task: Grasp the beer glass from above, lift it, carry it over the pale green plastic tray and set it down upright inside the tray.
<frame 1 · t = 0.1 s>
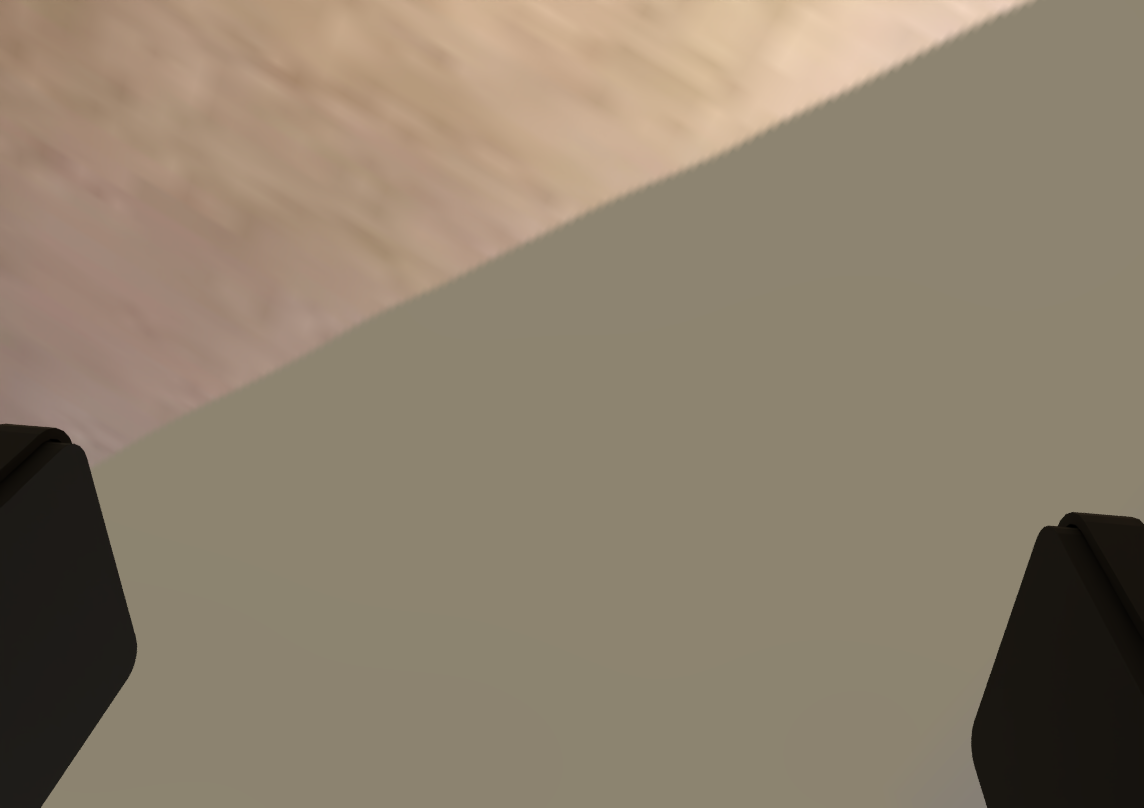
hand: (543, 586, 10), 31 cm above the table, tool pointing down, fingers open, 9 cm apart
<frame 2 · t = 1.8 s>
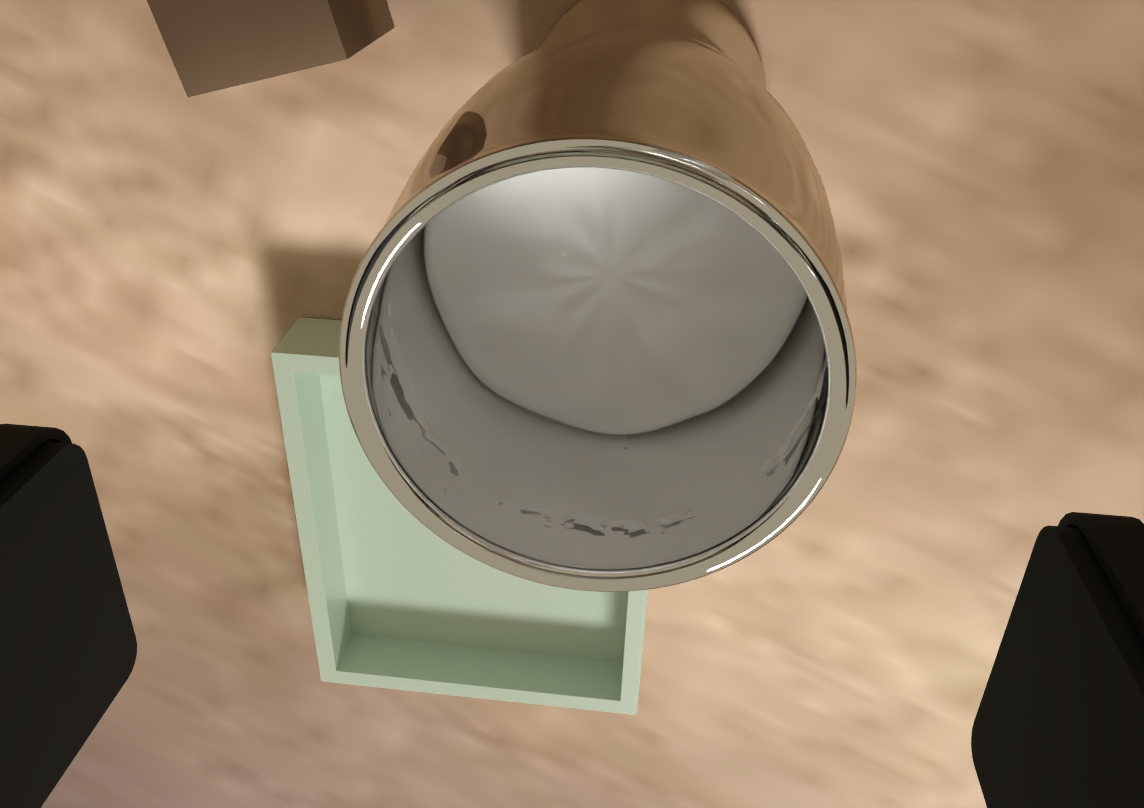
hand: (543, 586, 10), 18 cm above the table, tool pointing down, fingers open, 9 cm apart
tray: (485, 507, 32), on the table
beer glass: (646, 102, 25), on the table
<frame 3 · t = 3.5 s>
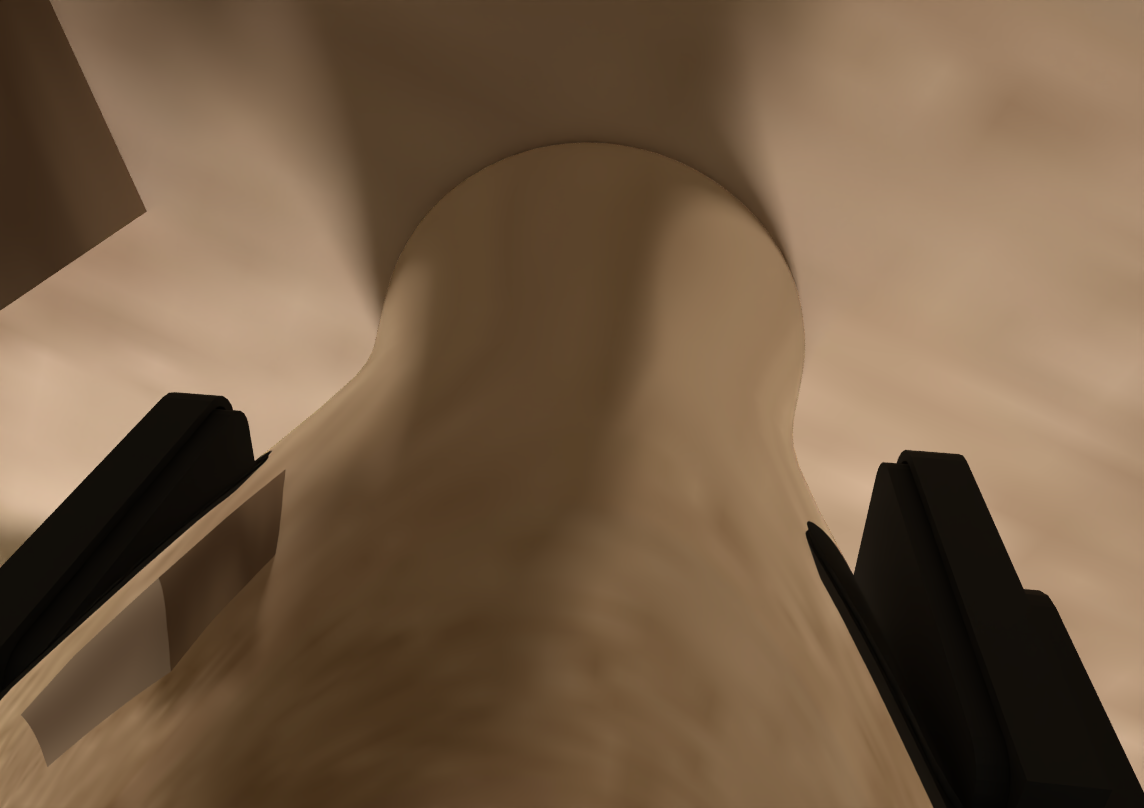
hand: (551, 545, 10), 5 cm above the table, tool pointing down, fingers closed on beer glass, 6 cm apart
beer glass: (593, 338, 14), on the table, touching gripper
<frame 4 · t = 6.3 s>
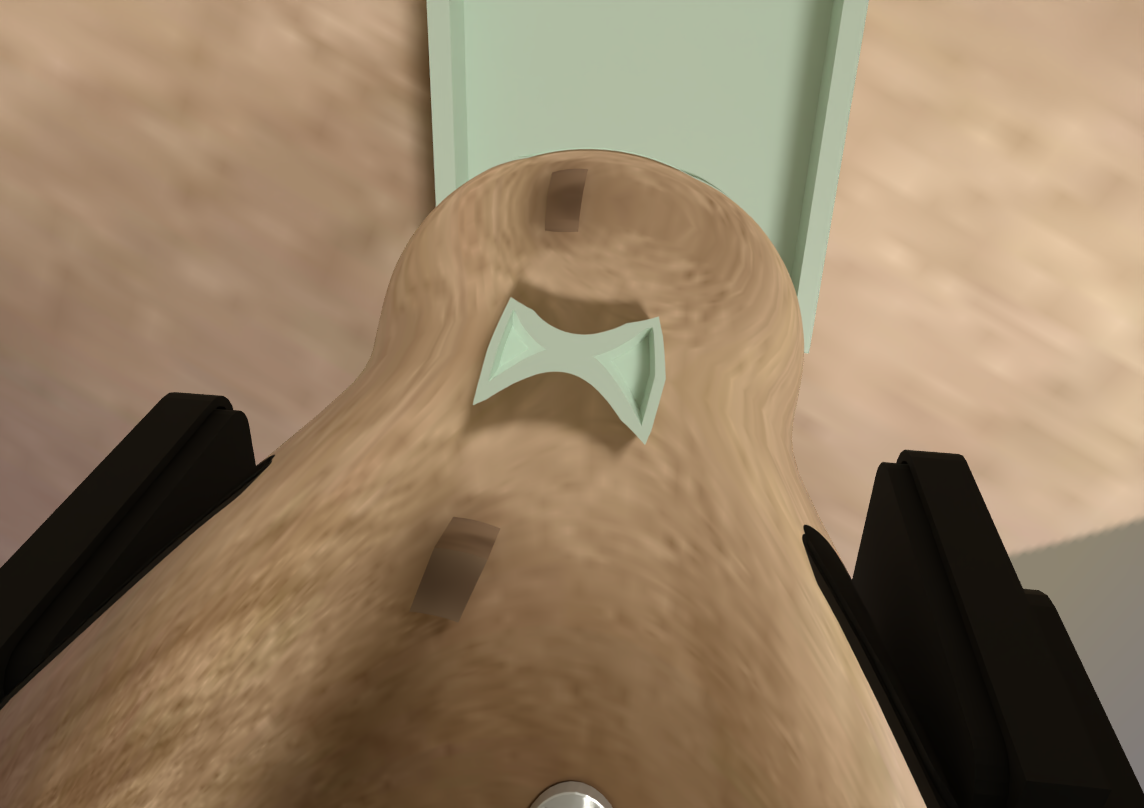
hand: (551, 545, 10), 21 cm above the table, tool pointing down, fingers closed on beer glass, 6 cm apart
tray: (639, 101, 28), on the table
beer glass: (592, 342, 14), point 16 cm above the table, touching gripper
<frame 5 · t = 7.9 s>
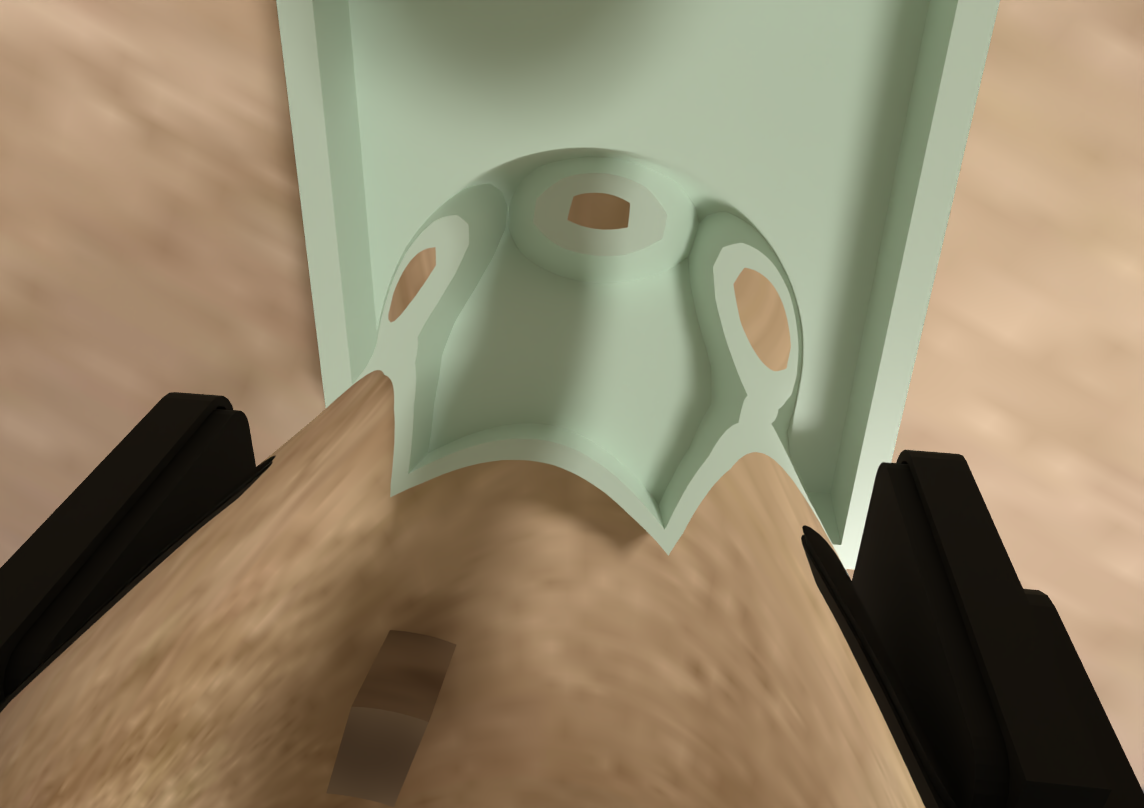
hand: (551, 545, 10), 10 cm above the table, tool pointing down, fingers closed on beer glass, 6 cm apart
tray: (620, 210, 19), on the table
beer glass: (592, 343, 14), point 6 cm above the table, touching gripper
when the fingers open (6 cm above the table, at t = 9.2 s): beer glass drops 1 cm, resting on tray.
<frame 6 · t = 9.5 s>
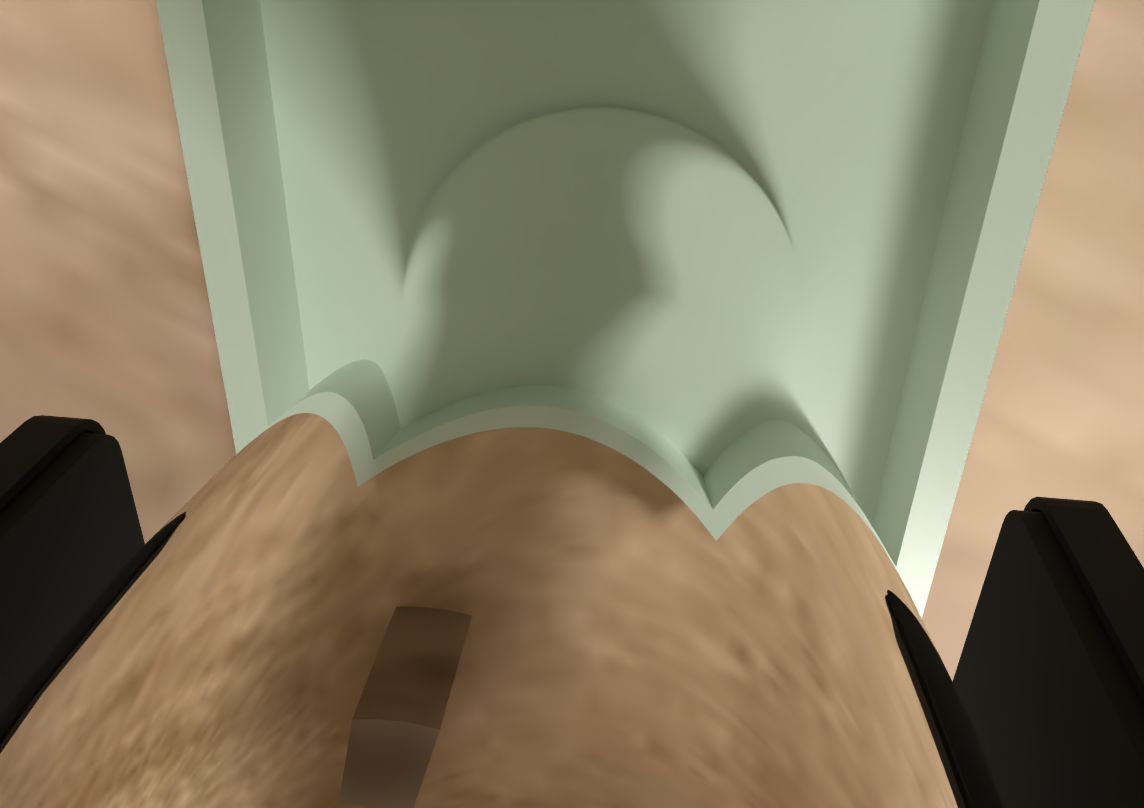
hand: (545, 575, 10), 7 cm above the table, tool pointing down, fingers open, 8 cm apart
tray: (601, 294, 16), on the table
beer glass: (601, 292, 16), resting on tray
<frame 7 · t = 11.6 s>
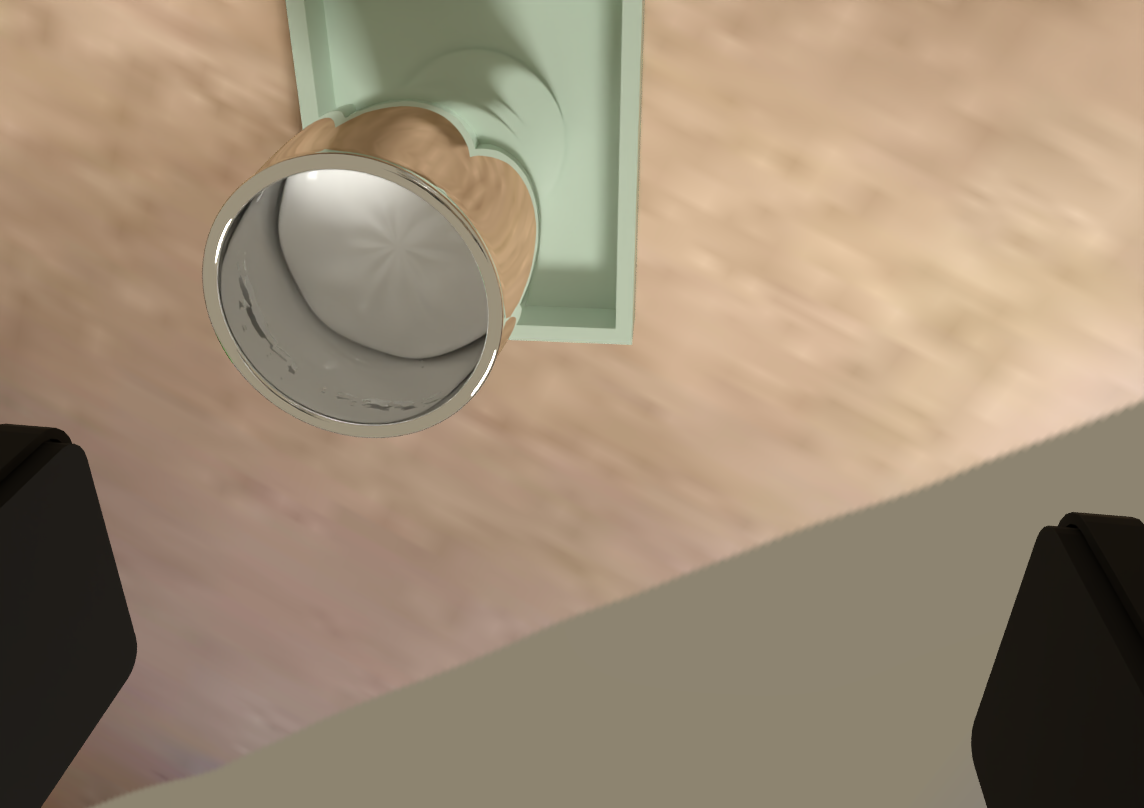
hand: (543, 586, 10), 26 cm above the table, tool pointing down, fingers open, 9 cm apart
tray: (481, 141, 34), on the table
beer glass: (480, 138, 34), resting on tray
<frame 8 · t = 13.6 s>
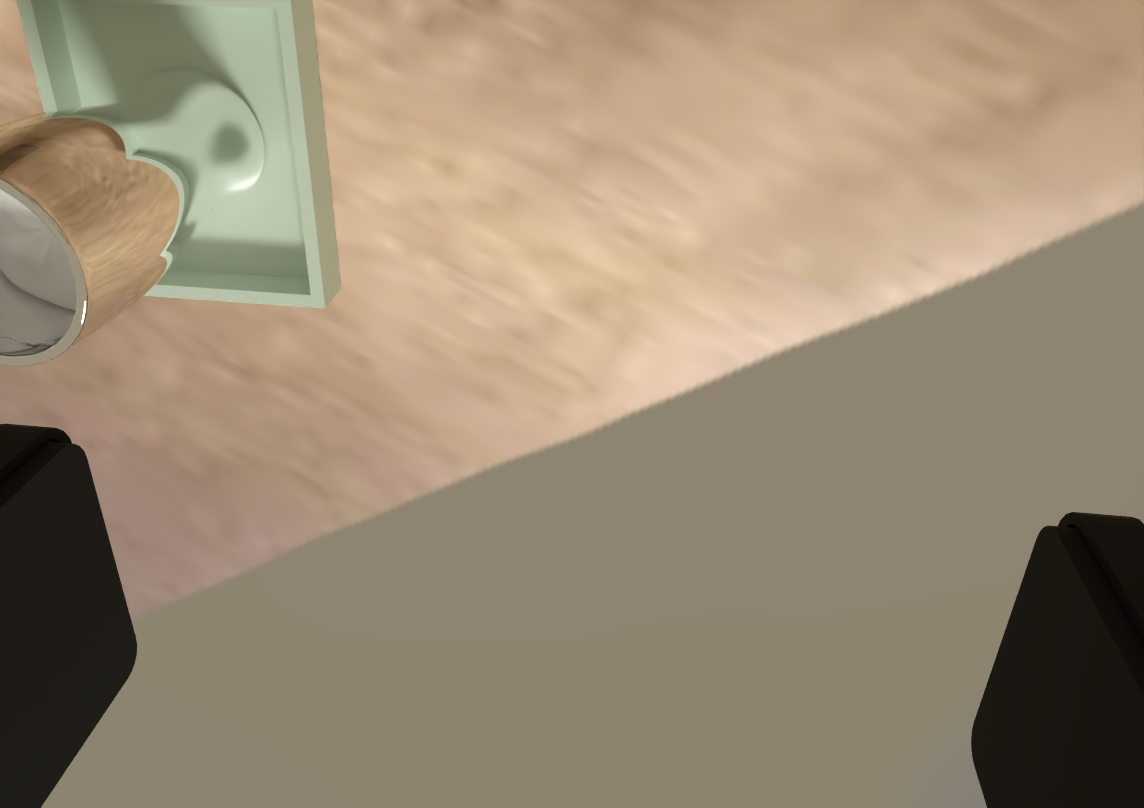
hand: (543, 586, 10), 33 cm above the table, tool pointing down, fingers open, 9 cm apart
tray: (203, 141, 43), on the table
beer glass: (200, 139, 42), resting on tray
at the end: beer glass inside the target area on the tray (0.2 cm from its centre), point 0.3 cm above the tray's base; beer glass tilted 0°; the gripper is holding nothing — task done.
